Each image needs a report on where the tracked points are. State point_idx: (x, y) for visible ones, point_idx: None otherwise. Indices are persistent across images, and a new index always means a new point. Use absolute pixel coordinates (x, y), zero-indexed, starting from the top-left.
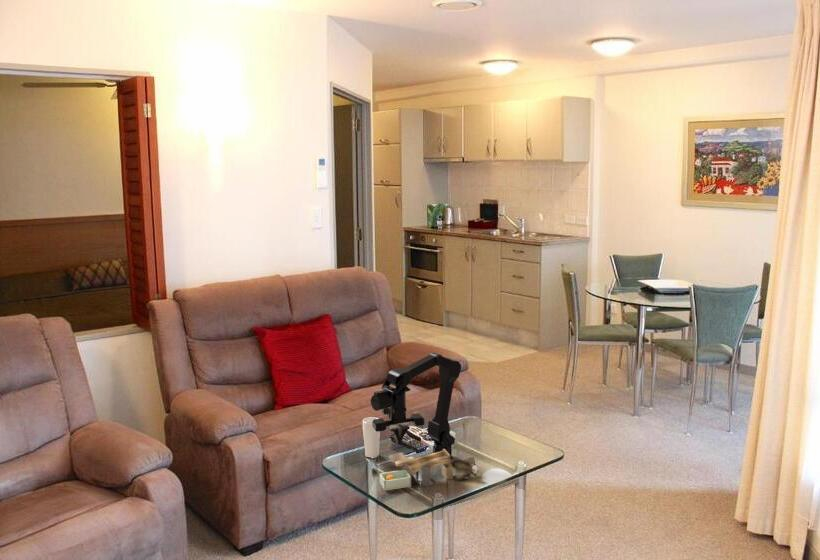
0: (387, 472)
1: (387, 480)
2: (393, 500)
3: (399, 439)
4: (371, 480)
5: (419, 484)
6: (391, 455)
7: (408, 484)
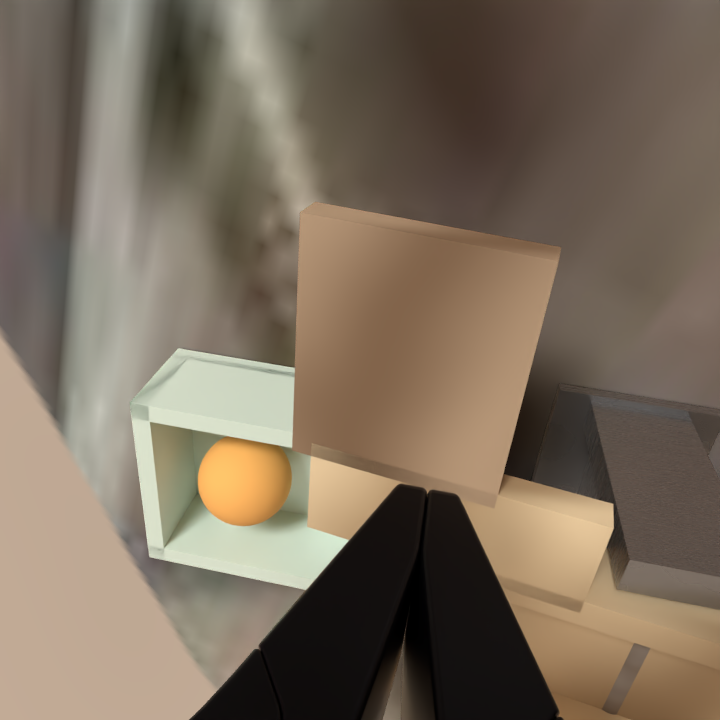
0: (224, 426)
1: (183, 555)
2: (222, 619)
3: (405, 678)
4: (107, 273)
5: None
6: (339, 239)
7: None
